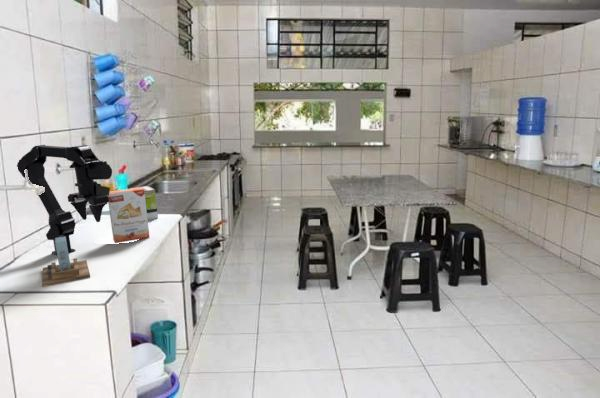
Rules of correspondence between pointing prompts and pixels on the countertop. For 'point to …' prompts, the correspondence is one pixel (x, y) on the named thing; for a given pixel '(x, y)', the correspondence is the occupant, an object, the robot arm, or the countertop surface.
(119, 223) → the cracker box
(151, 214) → the tea box
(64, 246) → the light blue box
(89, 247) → the countertop surface
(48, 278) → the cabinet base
